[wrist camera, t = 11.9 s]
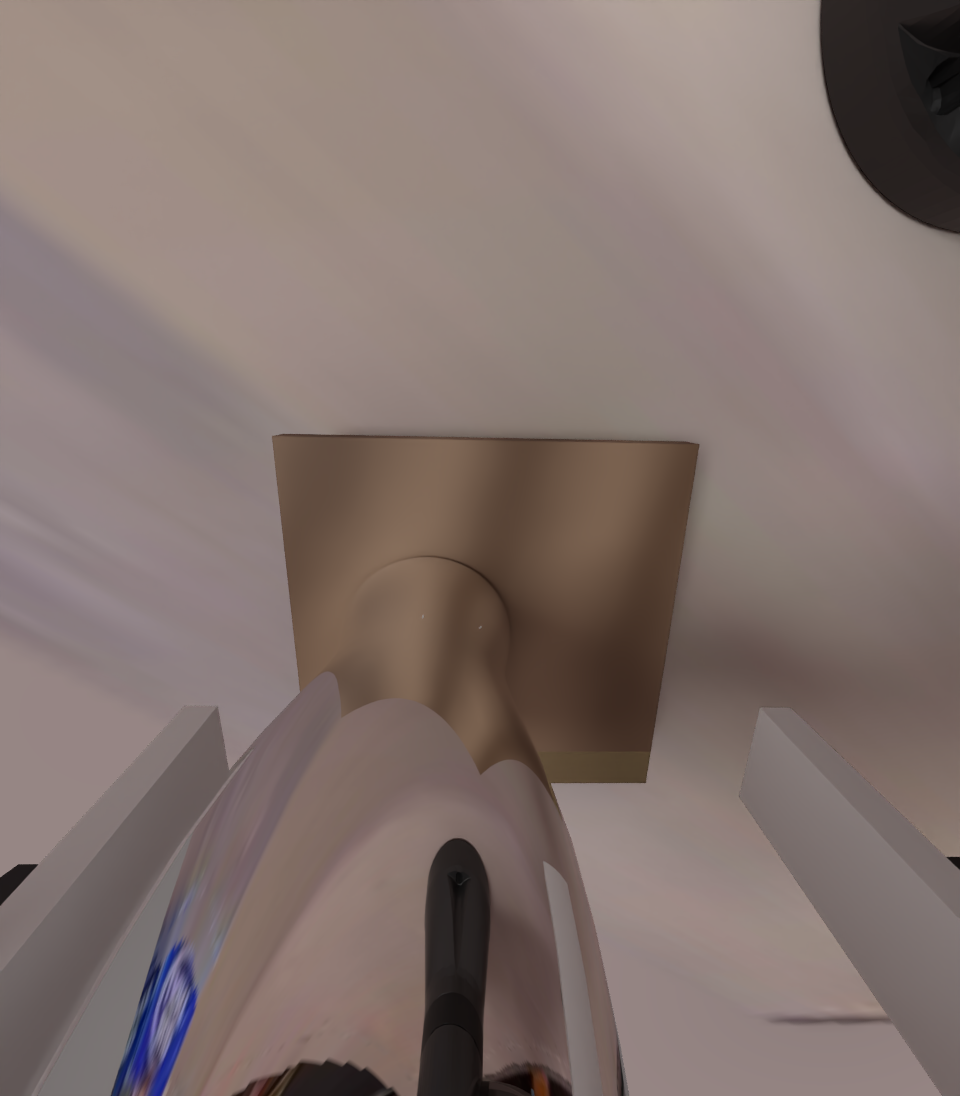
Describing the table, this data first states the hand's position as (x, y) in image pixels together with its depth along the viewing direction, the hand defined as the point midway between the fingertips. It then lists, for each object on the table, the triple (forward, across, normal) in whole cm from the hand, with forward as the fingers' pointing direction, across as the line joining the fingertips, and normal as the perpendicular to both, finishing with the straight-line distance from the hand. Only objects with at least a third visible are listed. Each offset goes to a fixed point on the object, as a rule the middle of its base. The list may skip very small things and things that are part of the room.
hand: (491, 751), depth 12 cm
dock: (+10, 0, 0) cm, 10 cm away
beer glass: (+6, +2, 0) cm, 7 cm away
